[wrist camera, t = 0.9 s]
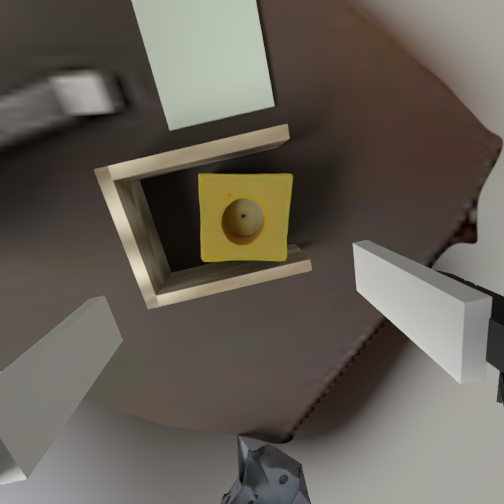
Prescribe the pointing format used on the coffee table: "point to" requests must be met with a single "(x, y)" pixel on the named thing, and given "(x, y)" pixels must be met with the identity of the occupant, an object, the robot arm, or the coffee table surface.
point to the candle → (244, 216)
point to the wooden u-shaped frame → (147, 239)
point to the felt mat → (205, 58)
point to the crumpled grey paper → (267, 478)
